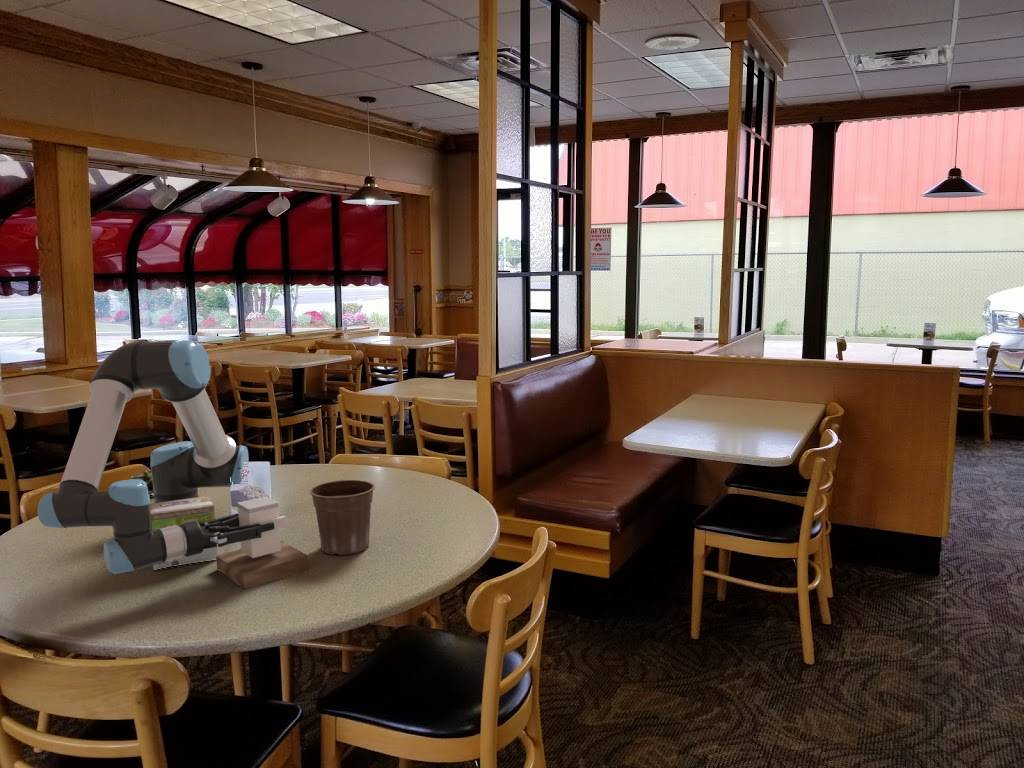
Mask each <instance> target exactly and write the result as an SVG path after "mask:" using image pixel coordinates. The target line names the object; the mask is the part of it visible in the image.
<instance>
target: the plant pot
mask: <svg viewBox="0 0 1024 768" xmlns="http://www.w3.org/2000/svg"><path fill="white" fill-rule="evenodd" d="M375 488H376V485H375V484H374V483H373V482H371V481H367V480H361V479H342V480H332V481H326V482H323V483H320V484H317V485H315V486H313V487H311V489H310V490H309V494H310V495H311V496H312V497H311V498H312V502H313V507H314V509H315V512H316V513H315V514H316V519H317V527H318V532H319V540H320V548H321V551H322V552H323V553H325V554H327V555H332V556H333V555H335V554H337V555H339V556H346V555H348V556H349V555H355V554H357V553H361V552H364V551H366V549H367V548H368V547H369V546H370V530H371V529H370V527H371V508H372V506H371V505H372V503H373V495H374V493H373V492H374V490H375Z"/></svg>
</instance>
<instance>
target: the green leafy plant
mask: <svg viewBox="0 0 1024 768" xmlns="http://www.w3.org/2000/svg"><path fill="white" fill-rule="evenodd" d="M130 478H131V479H139V480H143V481H144V482H146V484H147V488H148V494H149V498H150V497H151V496H150V495H151V494H152V493H154V491H153V482H152V473H151V469H147V470H145V471H144V470H142V471H141V474H137V475H136V476H132V475H131V477H130ZM150 499H151V498H150Z"/></svg>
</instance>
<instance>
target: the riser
mask: <svg viewBox="0 0 1024 768" xmlns="http://www.w3.org/2000/svg"><path fill="white" fill-rule="evenodd" d="M280 544H281V551H278V552H274V553H271V554H267V555H263V556H259V557H255V558H252V557H250V556H249V555H247V554H246V553H244V552H243V551H241V548H240V549H236V550H233V551H229V552H225V553H221V554H217V556H216V570H217V569H219V570H220V571H221V572H222V574H223V573H224V574H225V575H224V574H223V575H224V576H226V577H227V576H228V577H229V580H231V579H232V580H231V581H233V582H234V583H236V584H237V585H238V586H240V587H241V588H243V589H249V588H251V587H255V586H258V585H261V584H265V583H269V582H272V581H275V580H278V579H281V578H284V577H287V576H291V575H294V574H297V573H300V572H305V571H308V570H309V556H308V554H306V553H304V552H302V551H301V550H298V549H297V548H296V547H293V546H292V545H289V544H288V543H286V542H284V541H282V540H281V539H280ZM219 570H218V571H219ZM220 571H219V572H220ZM221 572H220V573H221ZM228 577H227V578H228Z"/></svg>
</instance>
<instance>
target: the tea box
mask: <svg viewBox="0 0 1024 768" xmlns="http://www.w3.org/2000/svg"><path fill="white" fill-rule="evenodd" d="M150 511H151V522H152V530H157V529H161V528H165V527H169V526H174V525H177V526H180V524H184V523H188V522H192V521H196V522H198V523H200V522H205V521H210V520H214V519H216V513H215V512H216V511H215V504H214V503H213V500H212V499H211V496H210V495H207V496H206V495H205V496H199V497H197V498H190V499H182V500H175V501H167V502H160V503H154V502H153V503H150ZM217 555H218V544H206V545H205V546H204V550H203V552H202V553H200V554H196V555H192V556H188V557H186V556H183V558H179V559H176V560H172V562H171V563H168V562H164V563H159V564H156V565H152V567H153V570H154V569H158V568H164V567H170V566H175V565H180V564H187V563H194V562H200V561H206V560H212V559H216V556H217Z"/></svg>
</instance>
